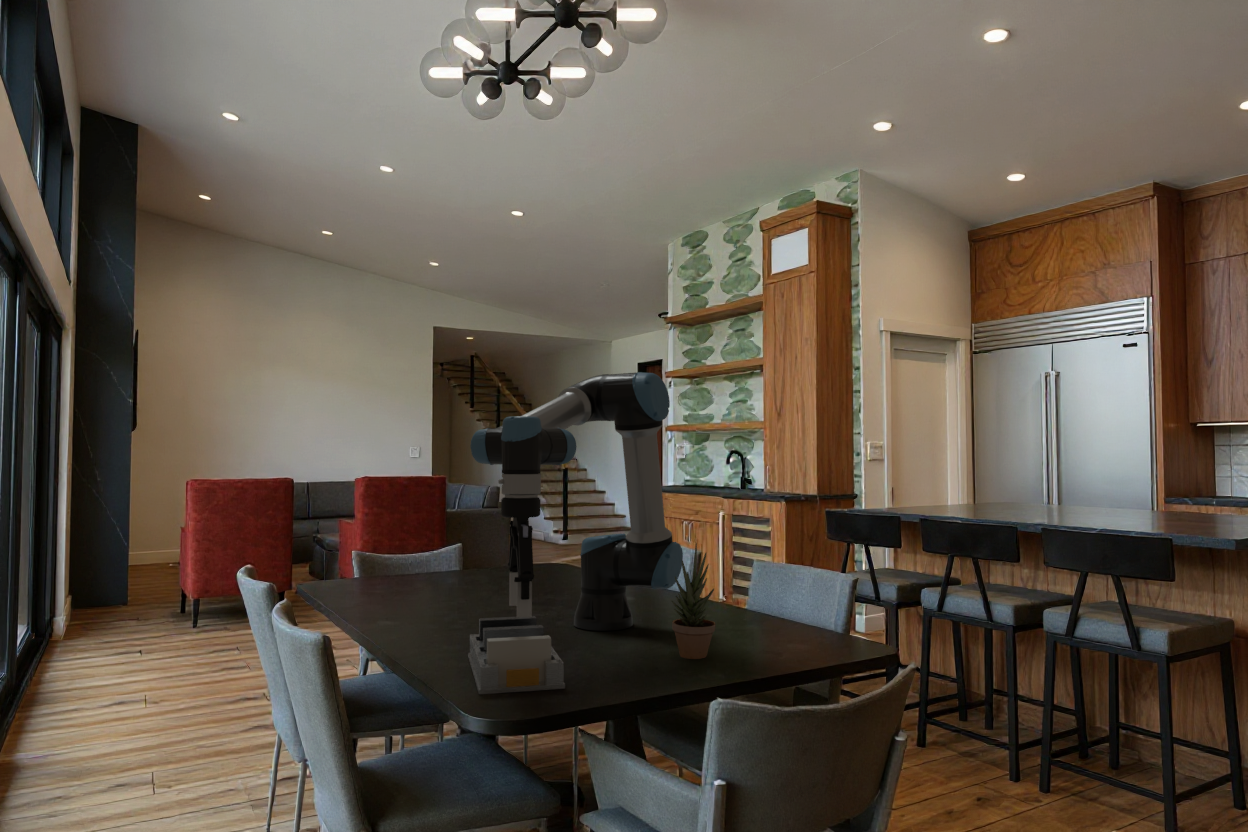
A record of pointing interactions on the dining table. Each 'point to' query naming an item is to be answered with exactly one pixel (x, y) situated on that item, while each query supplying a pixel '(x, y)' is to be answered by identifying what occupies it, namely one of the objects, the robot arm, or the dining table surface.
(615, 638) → the dining table surface
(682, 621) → the potted plant
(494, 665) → the rack
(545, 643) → the panel
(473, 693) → the dining table surface
